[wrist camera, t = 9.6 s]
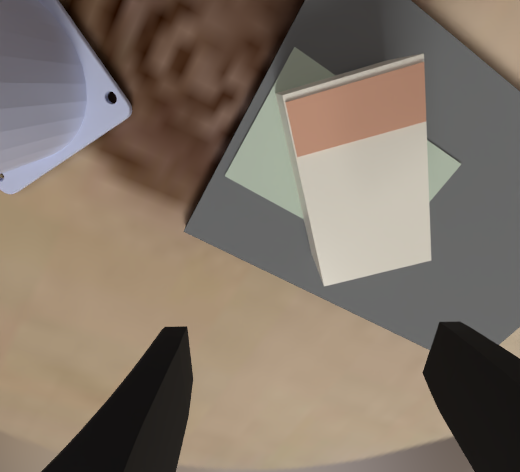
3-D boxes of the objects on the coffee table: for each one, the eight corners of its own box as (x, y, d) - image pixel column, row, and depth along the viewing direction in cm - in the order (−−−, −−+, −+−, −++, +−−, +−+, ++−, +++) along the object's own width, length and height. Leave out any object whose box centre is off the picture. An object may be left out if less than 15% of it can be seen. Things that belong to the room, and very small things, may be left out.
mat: (185, 226, 17) (183, 232, 17) (333, -55, 12) (338, -63, 12) (464, 362, 23) (471, 370, 22) (645, 203, 18) (660, 208, 17)
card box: (400, 231, 17) (432, 261, 14) (311, 253, 18) (324, 287, 15) (386, 60, 14) (425, 53, 11) (275, 93, 14) (282, 95, 11)
